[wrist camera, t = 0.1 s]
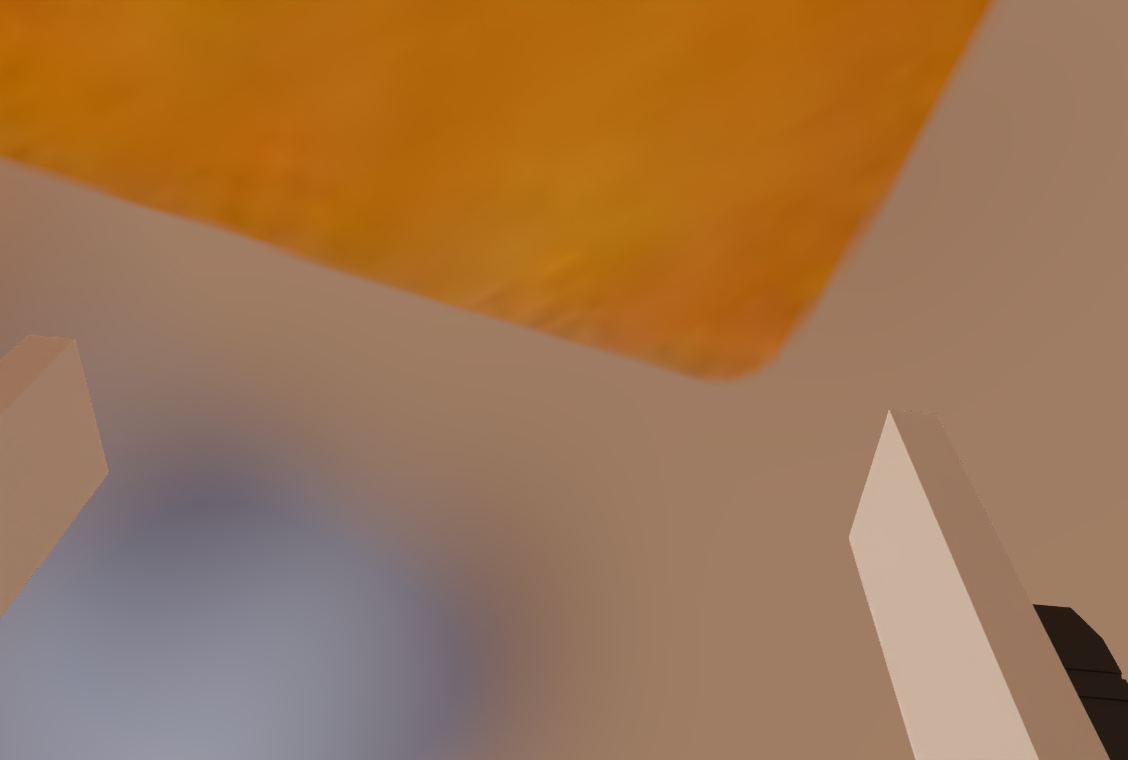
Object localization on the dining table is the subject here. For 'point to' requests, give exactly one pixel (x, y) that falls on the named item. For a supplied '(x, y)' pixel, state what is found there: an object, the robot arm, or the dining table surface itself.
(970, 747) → the robot arm
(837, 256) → the dining table surface
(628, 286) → the dining table surface
